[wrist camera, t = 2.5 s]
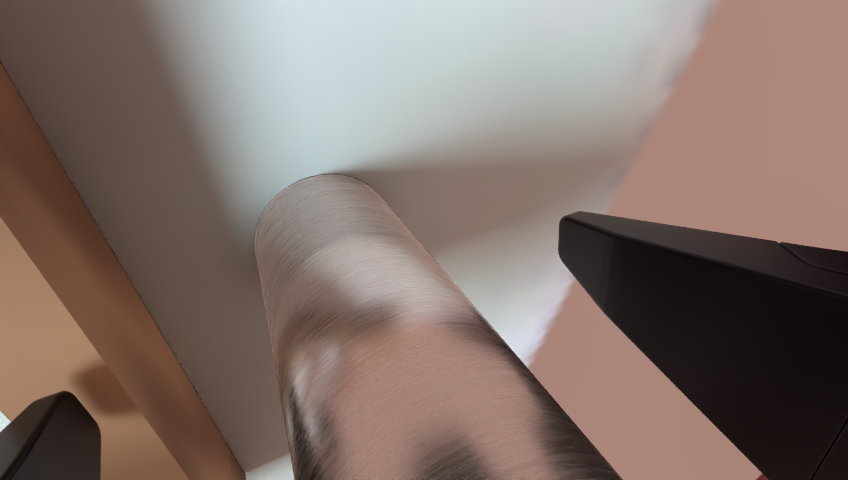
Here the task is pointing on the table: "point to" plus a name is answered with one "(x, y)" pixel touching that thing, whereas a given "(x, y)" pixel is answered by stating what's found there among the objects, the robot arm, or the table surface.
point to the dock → (88, 323)
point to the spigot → (395, 355)
